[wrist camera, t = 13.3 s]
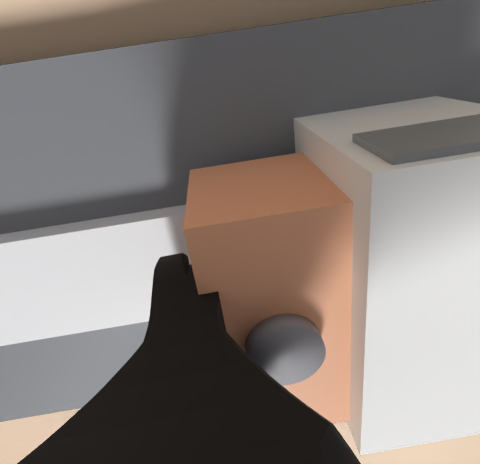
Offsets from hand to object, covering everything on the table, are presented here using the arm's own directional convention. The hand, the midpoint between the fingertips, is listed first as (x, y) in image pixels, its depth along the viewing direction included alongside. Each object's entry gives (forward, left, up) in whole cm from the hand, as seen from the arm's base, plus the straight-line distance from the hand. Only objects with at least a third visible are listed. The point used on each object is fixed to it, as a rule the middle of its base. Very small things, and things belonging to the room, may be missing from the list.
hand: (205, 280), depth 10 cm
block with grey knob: (-2, 0, -1) cm, 2 cm away
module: (-5, 0, -2) cm, 5 cm away
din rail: (0, 0, -3) cm, 3 cm away
